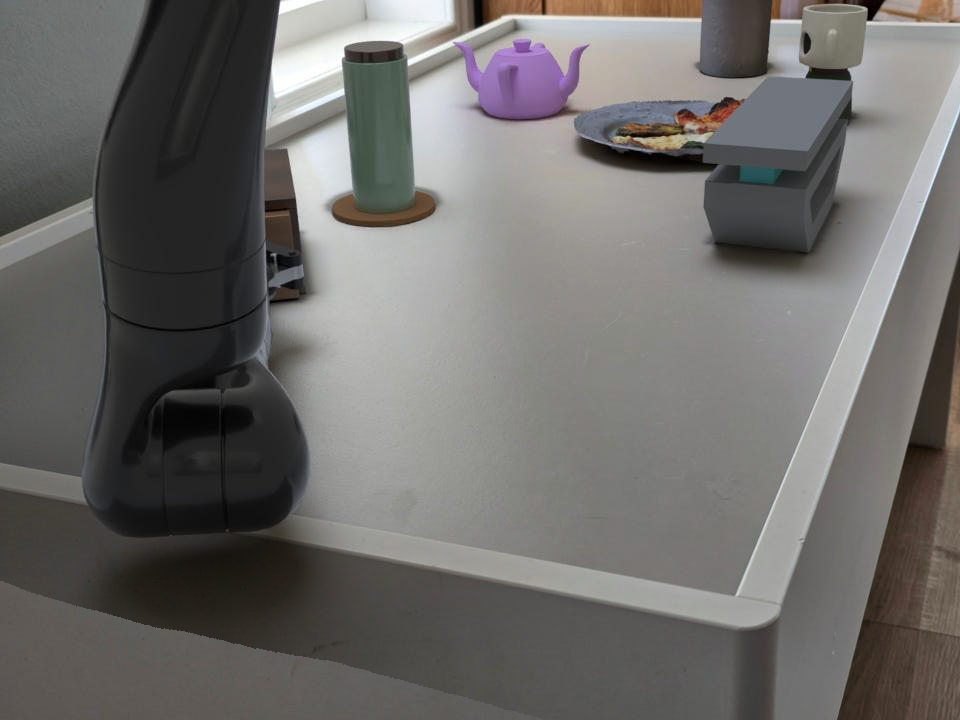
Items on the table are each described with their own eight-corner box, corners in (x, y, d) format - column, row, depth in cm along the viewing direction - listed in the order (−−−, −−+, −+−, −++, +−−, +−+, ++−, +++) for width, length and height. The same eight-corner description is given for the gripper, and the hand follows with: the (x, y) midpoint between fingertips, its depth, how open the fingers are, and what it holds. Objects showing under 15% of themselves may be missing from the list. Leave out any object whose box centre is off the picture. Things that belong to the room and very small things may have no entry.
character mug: (795, 109, 140) (805, 0, 134) (855, 111, 138) (868, 1, 132) (790, 131, 131) (800, 15, 125) (854, 133, 129) (868, 16, 123)
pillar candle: (778, 68, 162) (788, -42, 155) (748, 81, 155) (756, -34, 148) (717, 61, 167) (723, -45, 160) (685, 73, 160) (690, -37, 154)
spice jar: (370, 218, 105) (358, 55, 99) (343, 202, 110) (329, 45, 103) (427, 206, 108) (418, 46, 101) (398, 190, 113) (388, 37, 106)
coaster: (336, 231, 104) (336, 225, 104) (328, 199, 113) (327, 193, 113) (443, 221, 106) (442, 214, 105) (426, 190, 115) (426, 184, 114)
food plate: (773, 114, 138) (776, 85, 136) (821, 169, 117) (824, 135, 115) (568, 120, 138) (569, 91, 137) (579, 175, 118) (580, 142, 116)
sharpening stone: (794, 286, 89) (807, 151, 84) (696, 274, 92) (703, 143, 87) (840, 194, 109) (853, 80, 104) (759, 186, 112) (767, 76, 107)
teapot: (590, 114, 141) (591, 42, 137) (486, 127, 137) (484, 53, 133) (552, 95, 151) (552, 27, 147) (454, 107, 147) (451, 37, 143)
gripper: (310, 259, 68) (298, 180, 84) (84, 280, 66) (114, 196, 81) (322, 370, 71) (308, 274, 87) (107, 394, 69) (132, 292, 85)
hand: (214, 236), depth 84 cm, fingers closed
